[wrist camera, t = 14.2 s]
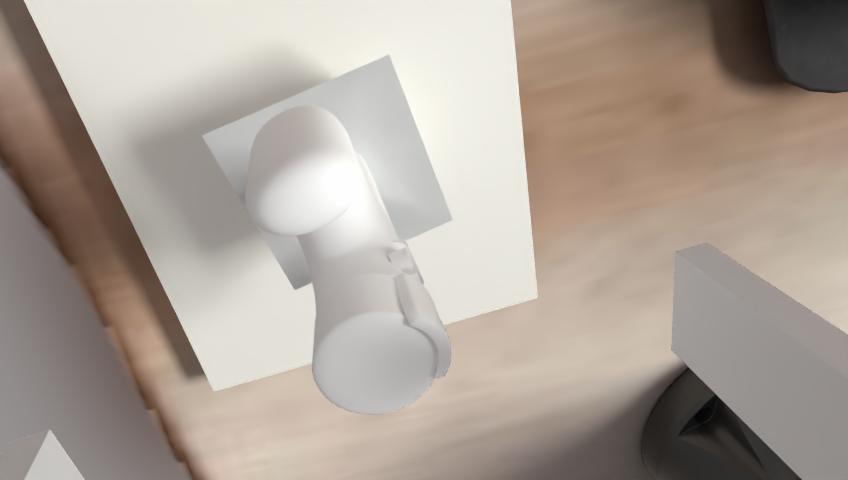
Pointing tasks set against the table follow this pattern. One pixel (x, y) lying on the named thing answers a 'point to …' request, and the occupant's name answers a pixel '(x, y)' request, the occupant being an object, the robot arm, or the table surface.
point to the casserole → (810, 42)
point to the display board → (267, 85)
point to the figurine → (348, 228)
